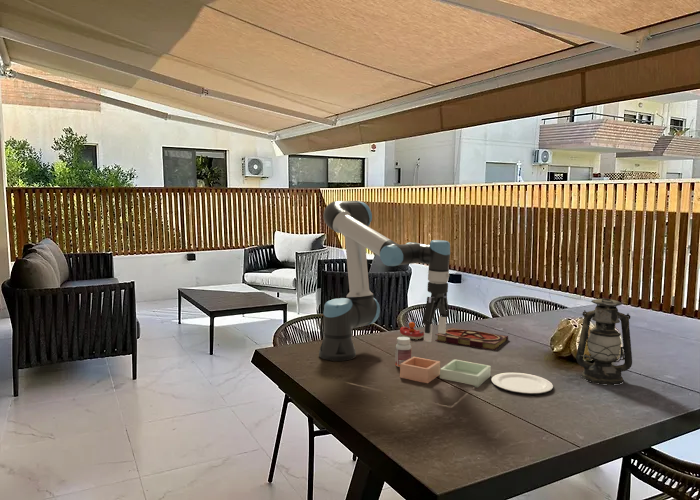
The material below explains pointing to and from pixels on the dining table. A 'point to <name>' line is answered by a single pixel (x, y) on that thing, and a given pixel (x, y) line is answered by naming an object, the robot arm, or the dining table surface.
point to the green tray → (465, 372)
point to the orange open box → (420, 369)
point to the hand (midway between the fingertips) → (434, 337)
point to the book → (472, 338)
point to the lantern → (604, 343)
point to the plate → (522, 383)
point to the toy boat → (411, 332)
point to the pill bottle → (402, 350)
